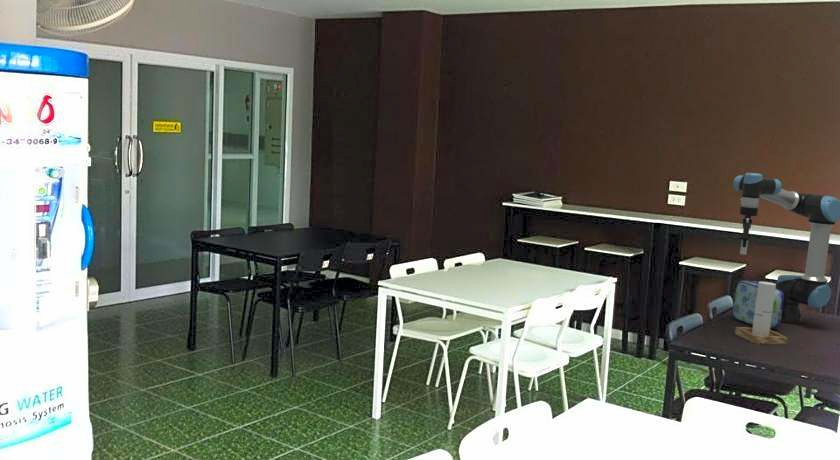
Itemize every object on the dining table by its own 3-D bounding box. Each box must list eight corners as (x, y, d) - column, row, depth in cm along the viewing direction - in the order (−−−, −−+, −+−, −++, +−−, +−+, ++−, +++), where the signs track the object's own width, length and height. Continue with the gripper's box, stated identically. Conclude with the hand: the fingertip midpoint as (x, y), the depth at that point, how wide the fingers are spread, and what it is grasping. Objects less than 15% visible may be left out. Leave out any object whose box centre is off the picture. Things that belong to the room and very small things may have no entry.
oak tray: (767, 335, 377) (768, 328, 377) (786, 344, 361) (787, 337, 361) (734, 333, 375) (735, 326, 375) (752, 343, 359) (753, 336, 359)
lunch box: (783, 331, 387) (789, 288, 385) (764, 331, 384) (770, 287, 382) (747, 318, 412) (752, 277, 409) (729, 317, 409) (734, 276, 406)
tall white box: (769, 340, 364) (777, 285, 360) (752, 338, 365) (759, 283, 362) (767, 337, 371) (774, 282, 367) (750, 334, 372) (757, 280, 369)
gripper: (741, 204, 388) (735, 248, 390) (739, 207, 365) (733, 254, 367) (758, 206, 385) (752, 250, 388) (758, 209, 362) (751, 256, 365)
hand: (743, 252), depth 378 cm, fingers open, 13 cm apart
